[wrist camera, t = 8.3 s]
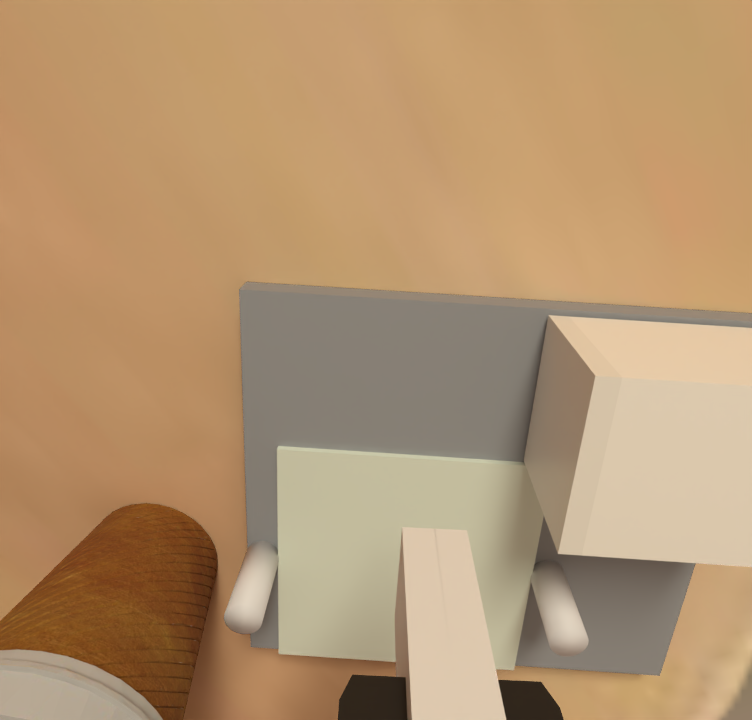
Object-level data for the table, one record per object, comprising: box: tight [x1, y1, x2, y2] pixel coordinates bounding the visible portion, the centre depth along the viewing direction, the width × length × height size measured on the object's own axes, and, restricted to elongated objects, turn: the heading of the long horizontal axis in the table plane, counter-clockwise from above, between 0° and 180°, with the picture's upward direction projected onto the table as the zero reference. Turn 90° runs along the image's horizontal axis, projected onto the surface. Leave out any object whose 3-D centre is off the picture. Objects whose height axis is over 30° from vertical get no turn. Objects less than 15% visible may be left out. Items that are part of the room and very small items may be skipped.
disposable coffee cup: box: [0, 503, 217, 720], centre depth 25 cm, size 10×10×12 cm
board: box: [224, 282, 752, 676], centre depth 26 cm, size 21×19×5 cm
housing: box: [524, 315, 752, 567], centre depth 22 cm, size 9×7×6 cm
